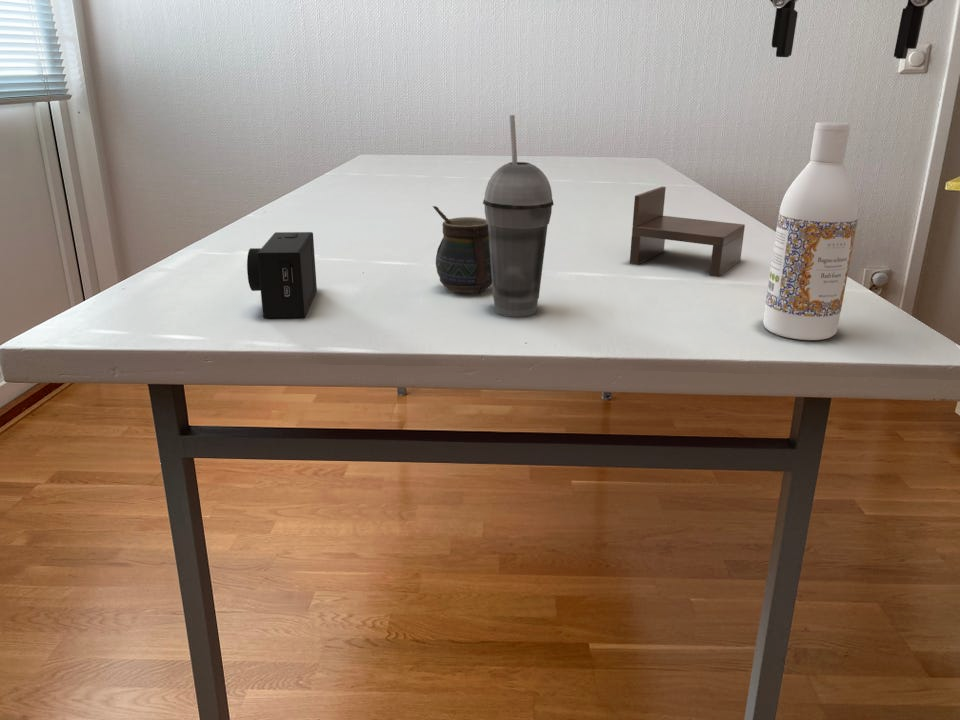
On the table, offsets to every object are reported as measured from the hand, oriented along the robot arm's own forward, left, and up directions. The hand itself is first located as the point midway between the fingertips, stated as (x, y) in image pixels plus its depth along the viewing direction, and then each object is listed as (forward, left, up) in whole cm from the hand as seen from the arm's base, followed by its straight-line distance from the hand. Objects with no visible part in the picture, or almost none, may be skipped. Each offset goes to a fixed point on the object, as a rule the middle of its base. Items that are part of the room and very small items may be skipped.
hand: (839, 57), depth 69 cm
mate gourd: (+36, +6, -26) cm, 44 cm away
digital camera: (+49, +22, -26) cm, 59 cm away
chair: (+19, -22, -26) cm, 39 cm away
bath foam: (0, 0, -26) cm, 26 cm away
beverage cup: (+27, +10, -26) cm, 38 cm away
